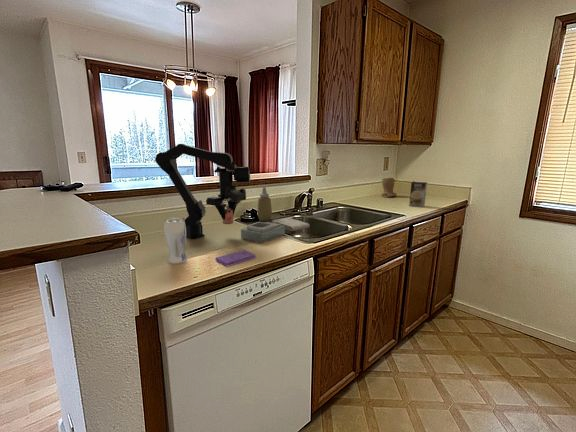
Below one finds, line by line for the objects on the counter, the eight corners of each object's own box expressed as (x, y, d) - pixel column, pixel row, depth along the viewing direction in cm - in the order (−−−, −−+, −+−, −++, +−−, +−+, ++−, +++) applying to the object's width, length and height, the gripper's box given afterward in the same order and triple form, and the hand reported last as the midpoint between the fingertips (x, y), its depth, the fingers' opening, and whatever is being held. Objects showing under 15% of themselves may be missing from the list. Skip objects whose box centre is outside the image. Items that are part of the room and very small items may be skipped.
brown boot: (384, 194, 259) (385, 176, 255) (398, 195, 252) (400, 177, 248) (376, 196, 247) (378, 177, 244) (391, 198, 240) (393, 178, 237)
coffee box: (408, 206, 210) (410, 182, 206) (410, 204, 215) (412, 181, 211) (423, 207, 205) (425, 183, 201) (424, 205, 210) (427, 182, 207)
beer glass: (170, 257, 113) (167, 217, 110) (190, 257, 114) (187, 217, 110) (164, 265, 106) (160, 222, 103) (185, 264, 107) (182, 222, 104)
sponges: (255, 259, 114) (255, 254, 113) (225, 267, 105) (225, 262, 105) (244, 254, 119) (244, 249, 118) (215, 262, 110) (215, 257, 110)
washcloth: (287, 221, 169) (287, 216, 168) (310, 228, 155) (310, 222, 155) (269, 225, 161) (269, 219, 160) (292, 232, 148) (292, 226, 147)
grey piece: (262, 243, 130) (262, 230, 129) (241, 238, 137) (240, 225, 136) (288, 232, 145) (288, 221, 144) (268, 229, 152) (268, 217, 151)
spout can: (227, 224, 135) (227, 207, 134) (220, 223, 138) (219, 206, 136) (235, 222, 139) (234, 205, 137) (228, 221, 142) (227, 204, 140)
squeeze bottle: (270, 222, 165) (269, 188, 161) (255, 221, 167) (254, 187, 162) (273, 218, 173) (273, 186, 169) (259, 218, 174) (259, 186, 170)
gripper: (223, 186, 123) (225, 225, 126) (254, 181, 137) (255, 216, 141) (204, 184, 129) (206, 221, 132) (236, 180, 144) (237, 213, 147)
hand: (227, 218), depth 138 cm, fingers closed on spout can, 5 cm apart
